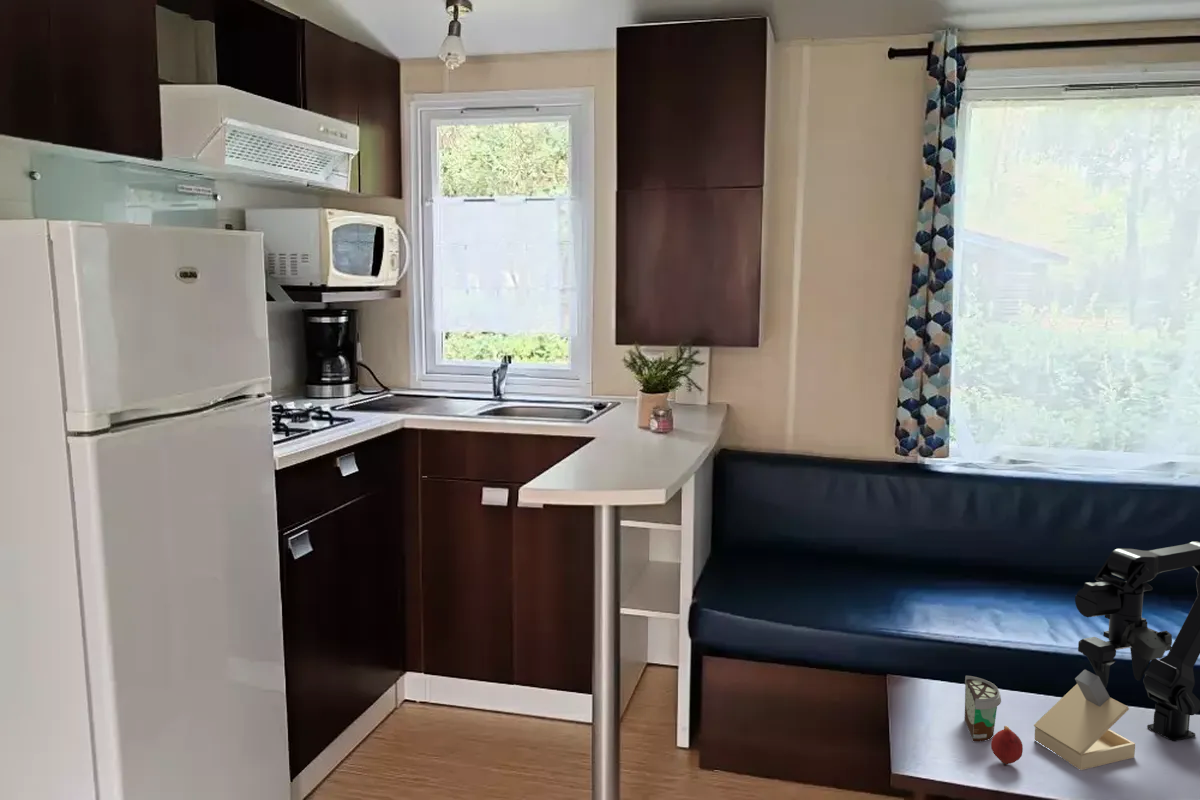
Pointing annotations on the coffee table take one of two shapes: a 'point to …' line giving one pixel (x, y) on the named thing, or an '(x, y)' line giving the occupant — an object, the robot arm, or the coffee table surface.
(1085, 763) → the carton
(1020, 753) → the onion
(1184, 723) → the robot arm
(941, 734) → the coffee table surface
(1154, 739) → the coffee table surface
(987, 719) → the food container
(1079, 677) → the carton flap
